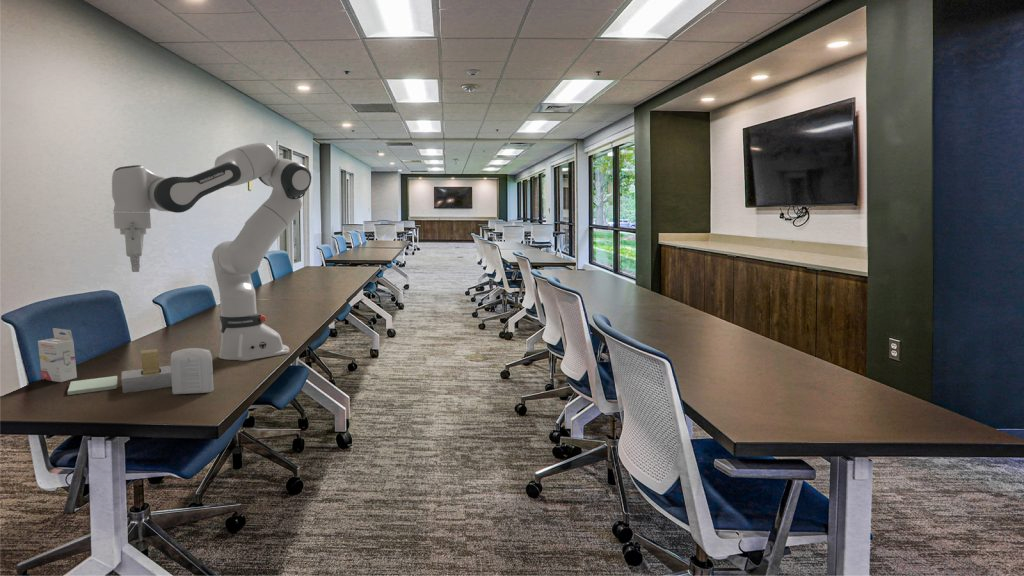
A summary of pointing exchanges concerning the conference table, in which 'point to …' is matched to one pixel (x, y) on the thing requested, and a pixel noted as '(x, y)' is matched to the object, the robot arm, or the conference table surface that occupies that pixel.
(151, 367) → the brass peg
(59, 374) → the ink cartridge box
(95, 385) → the sage mat
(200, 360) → the photo printer
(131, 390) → the grey block with holes
